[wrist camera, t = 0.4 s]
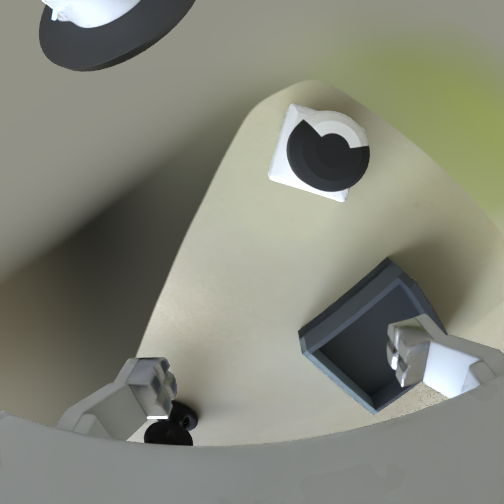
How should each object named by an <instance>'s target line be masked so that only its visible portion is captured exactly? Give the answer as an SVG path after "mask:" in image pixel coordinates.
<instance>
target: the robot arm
mask: <svg viewBox="0 0 504 504" xmlns="http://www.w3.org/2000/svg"><path fill="white" fill-rule="evenodd" d="M42 1H43V2H44V3H46V4H47V5H48V6H50V7H51V8H52V9H54V10H53V15H52V20H54V21H55V20H56V18H57V19H58V20H60V21H71V22H73V23H74V24H76V25H77V26H80V27H84V28H92V27H98V26H101V25H104V24H107V23H109V22H111V21H113V20H115V19H117V18H119V17H120V16H122V15H124V14H125V13H126V12H128V11H129V10H130V9H132V8H133V7H134V6H135V5H136V4H137V3H138V2H139V1H140V0H42ZM387 334H388V336H389V337H390V340H389V341H388V343H387V350H386V352H387V359H388V362H389V364H390V366H391V368H393V369H395V370H396V375H395V376H396V377H397V379H398V381H399V383H400V385H401V387H404V386H408V385H411V384H415V383H418V382H421V381H423V383H425V384H427V385H428V386H430V387H432V388H433V389H435V390H437V391H438V392H440V393H442V394H443V395H445V396H447V397H448V398H450V399H448V400H445V401H443V402H440V403H438V404H435V405H433V406H430V407H427V408H425V409H422V410H419V411H416V412H413V413H410V414H407V415H404V416H401V417H398V418H395V419H391V420H388V421H384V422H381V423H377V424H373V425H369V426H365V427H361V428H357V429H353V430H348V431H344V432H339V433H334V434H329V435H323V436H318V437H312V438H305V439H298V440H291V441H283V442H274V443H264V444H251V445H233V446H179V445H161V444H149V443H138V442H130V441H126V440H127V439H128V438H129V437H130V436H131V435H132V434H133V433H135V432H136V431H137V430H138V429H139V428H140V427H141V426H142V425H143V424H144V423H145V422H146V421H147V420H148V418H157V419H168V418H169V415H170V412H171V409H172V404H171V401H172V400H173V399H175V397H176V394H177V383H176V379H175V377H174V375H173V374H172V373H171V372H169V371H168V369H169V367H170V365H169V363H168V361H167V359H166V358H164V357H154V358H130V359H128V360H127V361H126V363H125V365H124V366H123V368H122V369H121V371H120V373H119V374H118V376H117V378H116V379H115V381H114V383H109V384H108V385H106V386H104V387H103V388H101V389H100V390H98V391H97V392H95V393H93V394H91V395H90V396H88V397H87V398H85V399H83V400H82V401H80V402H78V403H77V404H75V405H73V406H72V407H70V408H68V409H67V410H66V411H65V413H64V414H63V416H62V418H61V419H60V420H59V422H58V424H57V425H56V427H51V426H48V425H44V424H40V423H37V422H34V421H30V420H27V419H24V418H21V417H18V416H15V415H12V414H10V413H7V412H4V411H2V410H0V504H504V354H503V353H502V352H501V351H500V350H498V349H495V348H492V347H488V346H485V345H482V344H479V343H475V342H472V341H469V340H466V339H463V338H459V337H456V336H453V335H450V334H449V335H445V333H444V332H443V331H442V330H441V329H440V328H439V327H438V326H437V325H436V324H435V322H434V321H433V320H432V319H431V318H430V317H429V316H428V315H427V314H422V315H419V316H416V317H413V318H410V319H407V320H403V321H399V322H396V323H392V324H389V326H388V332H387Z"/></svg>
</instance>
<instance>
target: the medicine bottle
mask: <svg viewBox="0 0 504 504" xmlns="http://www.w3.org/2000/svg"><path fill="white" fill-rule="evenodd" d="M365 134H366V130H365V128H363V127H360V126H359V125H358V124H357V123H356V122H355V121H354V120H353V119H352V118H350V117H349V116H347V115H345V114H342V113H340V112H336V111H317V110H314V109H311V108H308V107H305V106H302V105H298V104H295V103H292V104H290V106H289V108H288V110H287V112H286V114H285V116H284V119H283V122H282V126H281V129H280V132H279V136H278V139H277V143H276V146H275V149H274V153H273V156H272V160H271V163H270V167H269V170H268V175H269V178H270V179H271V180H273V181H276V182H280V183H283V184H287V185H290V186H293V187H296V188H300V189H303V190H306V191H309V192H312V193H316V194H319V195H322V196H325V197H328V198H331V199H334V200H337V201H340V202H344V201H345V200H346V198H347V195H348V192H349V189H350V187H351V186H353V185H355V184H356V183H357V182H358V181H359V180H360V179H361V178H362V176H363V175H364V173H365V171H366V169H367V167H368V163H369V157H370V150H369V144H368V140H367V137H366V135H365Z"/></svg>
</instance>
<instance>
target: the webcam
mask: <svg viewBox="0 0 504 504" xmlns="http://www.w3.org/2000/svg"><path fill="white" fill-rule="evenodd" d="M171 404H172V409H171V412H170V415H169V418H168V419H157V418H156V419H157V420H158V422H156V423H153V424H151V425H150V426H149V427H148V428H147V430H146V432H145V434H144V443H149V444H161V445H179V446H193V440H192V437H191V435H190V433H189V432H188V431H190V430H192V429H194V428H195V427H196V426H197V423H198V418H197V415H196V414H195V412H194V411H193V410H192V409H191V408H189V407H187V406H186V405H184V404H181V403H178V402H173V401H171ZM185 417H188V418H189V422H188V423H186V424H183V422H184V418H185Z"/></svg>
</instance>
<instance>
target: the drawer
mask: <svg viewBox="0 0 504 504" xmlns="http://www.w3.org/2000/svg"><path fill="white" fill-rule="evenodd" d="M422 314H427V315H428V316H429V317H430V318H431V319H432V320H433V321H434V322H435V324H436V325H437V326H438V327H439V328H440V329H441V330H442V331H443V332H444V333H445V335H448V334H447V333H446V331H445V329H444V327H443V325H442V324H441V322H440V320H439V318H438V317H437V315H436V313H435V312H434V310H433V308H432V307H431V305H430V303H429V302H428V300H427V298H426V297H425V295H424V294H423V292H422V290H421V289H420V287H419V286H418V284H417V283H416V282H415V281H414V280H413V279H412V278H411V277H410V276H409V275H408V274H407V273H405V272H404V271H403V270H402V269H401V268H400V267H399V266H397V265H396V264H395V263H394V262H393V261H392V260H391V259H389V258H388V257H387V258H386V259H385V260H384V261H382V262H381V263H380V264H379V265H378V266H377V267H376V268H375V269H373V270H372V271H371V272H370V273H369V274H368V275H367V276H365V277H364V278H363V279H362V280H361V281H360V282H359V283H357V284H356V285H355V286H354V287H353V288H351V289H350V290H349V291H348V292H347V293H345V294H344V295H343V296H342V297H341V298H339V299H338V300H337V301H336V302H335V303H333V304H332V305H331V306H330V307H328V308H327V309H326V310H325V311H323V312H322V313H321V314H320V315H318V316H317V317H316V318H314V319H313V320H312V321H311V322H309V323H308V324H307V325H305V326H304V327H303V328H301V329H300V330H299V331H298V334H299V340H300V346H301V351H302V354H303V355H304V356H305V357H306V358H307V359H308V360H309V361H311V362H312V363H313V364H314V365H315V366H316V367H317V368H319V369H320V370H321V371H322V372H323V373H324V374H325V375H327V376H328V377H329V378H330V379H331V380H332V381H334V382H335V383H336V384H337V385H338V386H339V387H341V388H342V389H343V390H344V391H345V392H346V393H348V394H349V395H350V396H351V397H352V398H354V399H355V400H356V401H357V402H358V403H360V404H361V405H362V406H363V407H364V408H366V409H367V410H368V411H369V412H370V413H372V414H373V415H374V414H376V413H377V412H379V411H380V410H382V409H383V408H385V407H386V406H388V405H389V404H391V403H392V402H394V401H395V400H396V399H398V398H399V397H401V396H402V395H403V394H405V393H406V392H408V391H409V390H410V389H412V388H413V387H414V386H416V385H417V384H418V383H420V382H418V383H415V384H411V385H408V386H404V387H401V385H400V383H399V381H398V379H397V377H396V376H395V375H396V370H395V369H393V368H391V366H390V364H389V362H388V359H387V352H386V350H387V343H388V341H389V340H390V337H389V336H388V334H387V332H388V326H389V324H392V323H396V322H399V321H403V320H407V319H410V318H413V317H416V316H419V315H422Z"/></svg>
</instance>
